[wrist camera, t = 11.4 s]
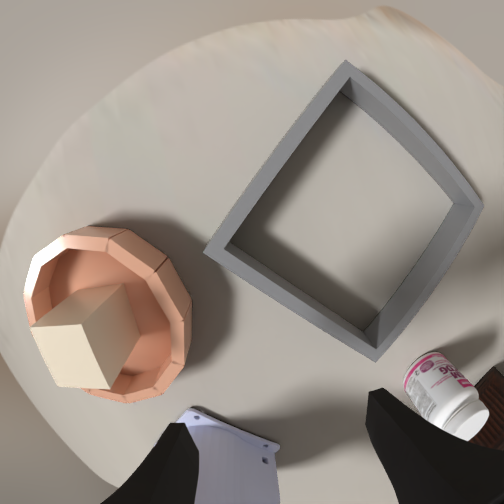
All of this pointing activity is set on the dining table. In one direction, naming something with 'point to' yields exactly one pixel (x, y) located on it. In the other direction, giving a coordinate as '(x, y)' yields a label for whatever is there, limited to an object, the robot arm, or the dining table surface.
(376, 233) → the dining table surface
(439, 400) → the pill bottle
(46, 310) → the bowl
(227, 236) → the tray
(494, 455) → the robot arm
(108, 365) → the sandstone block
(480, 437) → the manual coffee grinder
